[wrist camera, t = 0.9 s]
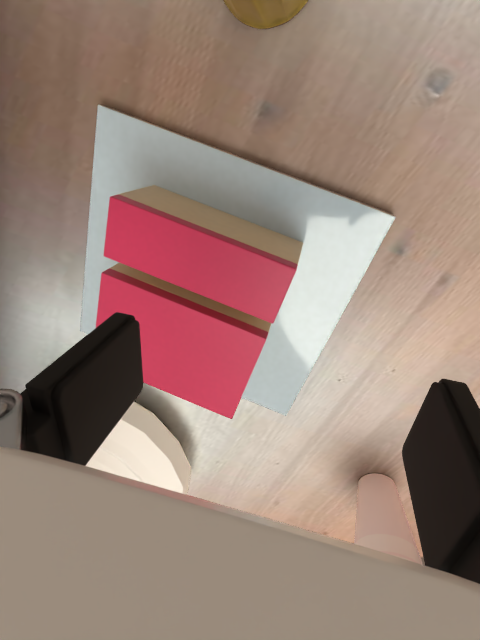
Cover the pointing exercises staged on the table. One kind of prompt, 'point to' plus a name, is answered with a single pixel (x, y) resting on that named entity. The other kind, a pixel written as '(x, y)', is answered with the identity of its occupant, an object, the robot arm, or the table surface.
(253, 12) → the vase
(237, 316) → the cake
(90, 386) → the robot arm
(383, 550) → the smoothie
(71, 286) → the table surface
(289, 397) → the cake plate
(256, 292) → the cake slice
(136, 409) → the candle holder
